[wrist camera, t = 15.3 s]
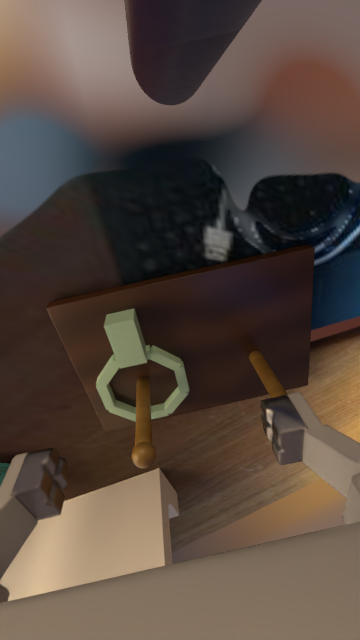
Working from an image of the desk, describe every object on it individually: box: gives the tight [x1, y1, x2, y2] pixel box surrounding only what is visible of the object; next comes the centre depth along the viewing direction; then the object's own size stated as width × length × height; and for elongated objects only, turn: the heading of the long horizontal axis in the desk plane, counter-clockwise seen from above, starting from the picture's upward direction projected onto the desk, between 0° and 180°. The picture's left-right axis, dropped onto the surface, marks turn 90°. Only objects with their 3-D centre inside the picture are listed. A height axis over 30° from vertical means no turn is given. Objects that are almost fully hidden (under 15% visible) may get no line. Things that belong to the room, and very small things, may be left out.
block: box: [0, 468, 179, 601], centre depth 36 cm, size 35×8×28 cm, turn 111°
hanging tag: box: [96, 309, 189, 422], centre depth 32 cm, size 15×10×2 cm
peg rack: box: [46, 244, 315, 468], centre depth 29 cm, size 19×28×13 cm
